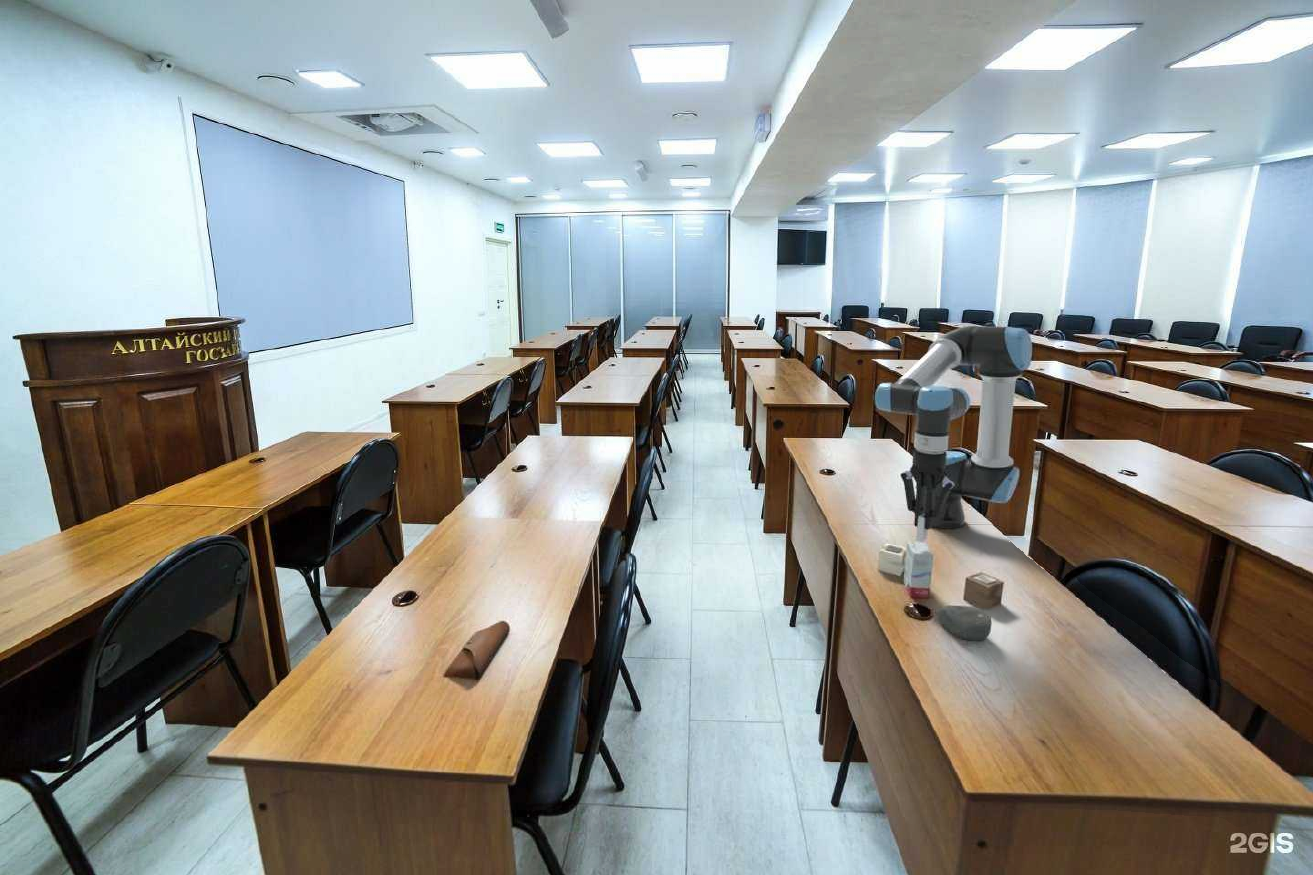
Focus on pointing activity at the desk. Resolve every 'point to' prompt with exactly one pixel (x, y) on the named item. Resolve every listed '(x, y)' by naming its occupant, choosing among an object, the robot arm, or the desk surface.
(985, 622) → the stone
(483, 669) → the sunglasses case
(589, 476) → the desk surface
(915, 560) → the ink box
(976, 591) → the walnut block marked
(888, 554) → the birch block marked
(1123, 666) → the desk surface
